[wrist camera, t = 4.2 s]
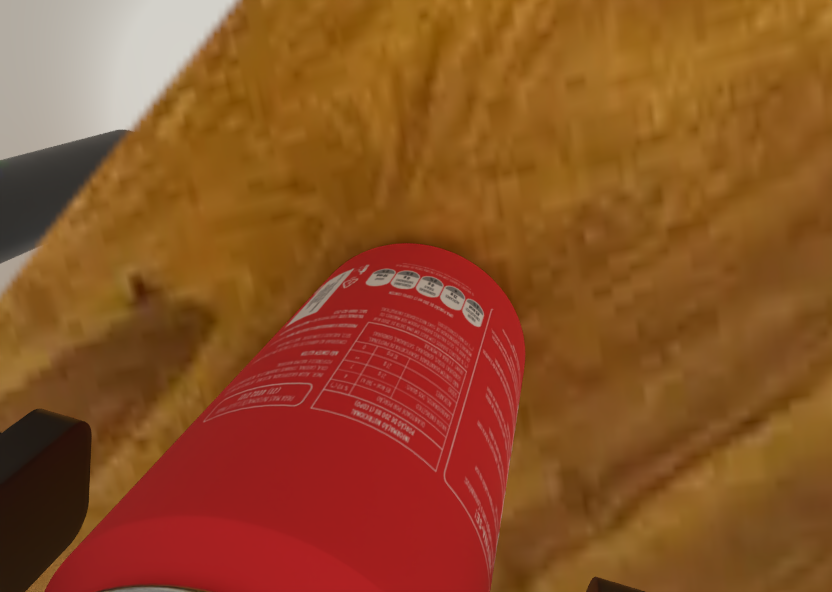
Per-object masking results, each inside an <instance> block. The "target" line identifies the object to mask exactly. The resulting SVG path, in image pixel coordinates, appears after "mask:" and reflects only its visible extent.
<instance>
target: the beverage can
mask: <svg viewBox="0 0 832 592" xmlns="http://www.w3.org/2000/svg"><path fill="white" fill-rule="evenodd" d="M524 365H525V343H524V336H523V332H522V328H521V324H520V322H519V319H518V316H517V314H516V312H515V309H514V308H513V306H512V304H511V302H510V300H509V299H508V297H507V296H506V294H505V293H504V292H503V290H502V289H501V288H500V287H499V285H498V284H497V283H496V282H495V281H494V280H493V279H492V278H491V277H490V276H489V275H488V274H487V273H485V272H484V271H483V270H482V269H481V268H479V267H478V266H476V265H475V264H474V263H472V262H470V261H469V260H467V259H465V258H463V257H461V256H459V255H457V254H455V253H453V252H450V251H447V250H444V249H441V248H438V247H434V246H429V245H423V244H414V243H401V244H391V245H385V246H380V247H377V248H373V249H370V250H368V251H365V252H363V253H361V254H359V255H357V256H355V257H353V258H351V259H350V260H348V261H347V262H345V263H344V264H343V265H341V266H340V267H339V268H338V269H337V270H336V271H334V272H333V274H332V275H331V276H330V277H329V278H328V279H327V280H326V281H325V282H324V283H323V284H322V285H321V286H320V287H319V288H318V289H317V291H316V292H315V293H314V294H313V295H312V296H311V297H310V298H309V299H308V300H307V301H306V302H305V303H304V304H303V306H302V307H301V308H300V309H299V310H298V311H297V312H296V313H295V314H294V315H293V316H292V317H291V318H290V319H289V321H288V322H287V323H286V324H285V325H284V326H283V327H282V328H281V329H280V330H279V331H278V332H277V333H276V334H275V336H274V337H273V338H272V339H271V340H270V341H269V342H268V343H267V344H266V345H265V346H264V347H263V348H262V349H261V351H260V352H259V353H258V354H257V355H256V356H255V357H254V358H253V359H252V360H251V361H250V362H249V363H248V364H247V366H246V367H245V368H244V369H243V370H242V371H241V372H240V373H239V374H238V375H237V376H236V377H235V378H234V379H233V381H232V382H231V383H230V384H229V385H228V386H227V387H226V388H225V389H224V390H223V391H222V392H221V393H220V394H219V396H218V397H217V398H216V399H215V400H214V401H213V402H212V403H211V404H210V405H209V406H208V407H207V408H206V409H205V411H204V412H203V413H202V414H201V415H200V416H199V417H198V418H197V419H196V420H195V421H194V422H193V423H192V424H191V426H190V427H189V428H188V429H187V430H186V431H185V432H184V433H183V434H182V435H181V436H180V437H179V438H178V439H177V441H176V442H175V443H174V444H173V445H172V446H171V447H170V448H169V449H168V450H167V451H166V452H165V453H164V454H163V456H162V457H161V458H160V459H159V460H158V461H157V462H156V463H155V464H154V465H153V466H152V467H151V468H150V469H149V471H148V472H147V473H146V474H145V475H144V476H143V477H142V478H141V479H140V480H139V481H138V482H137V483H136V484H135V486H134V487H133V488H132V489H131V490H130V491H129V492H128V493H127V494H126V495H125V496H124V497H123V498H122V499H121V501H120V502H119V503H118V504H117V505H116V506H115V507H114V508H113V509H112V510H111V511H110V512H109V513H108V514H107V516H106V517H105V518H104V519H103V520H102V521H101V522H100V523H99V524H98V525H97V526H96V527H95V528H94V529H93V531H92V532H91V533H90V534H89V535H88V536H87V537H86V538H85V539H84V540H83V541H82V542H81V543H80V544H79V546H78V547H77V548H76V549H75V550H74V551H73V552H72V553H71V554H70V555H69V556H68V557H67V558H66V560H65V561H64V562H63V563H62V564H61V566H60V567H59V568H58V570H57V571H56V572H55V574H54V575H53V577H52V579H51V580H50V582H49V584H48V585H47V587H46V589H45V592H490V589H491V582H492V576H493V569H494V563H495V556H496V550H497V543H498V537H499V530H500V523H501V517H502V510H503V504H504V497H505V491H506V484H507V478H508V471H509V465H510V458H511V452H512V445H513V439H514V432H515V426H516V419H517V412H518V406H519V399H520V393H521V386H522V380H523V373H524Z"/></svg>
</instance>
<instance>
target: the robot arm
mask: <svg viewBox="0 0 832 592" xmlns="http://www.w3.org/2000/svg"><path fill="white" fill-rule="evenodd" d="M90 459H91V428H90V426H89V424H88V423H86V422H84V421H81V420H77V419H74V418H71V417H67V416H64V415H61V414H58V413H54V412H51V411H48V410H44V409H36V410H33V411H32V412H30V413H29V414H27V415H26V416H24V417H23V418H22V419H20V420H19V421H18V422H16V423H15V424H13V425H12V426H11V427H9V428H8V429H7V430H5V431H4V432H3V433H1V432H0V592H25V591H26V590H27V589H28V588H29V587H30V586H31V585H32V584H33V583H34V582H35V581H36V580H37V579H38V578H39V576H40V575H41V574H42V573H43V572H44V571H45V570H46V569H47V568H48V567H49V566H50V565H51V564H52V563H53V562H54V561H55V560H56V559H57V558H58V557H59V556H60V554H61V553H62V552H63V551H64V550H65V549H66V548H67V547H68V546H69V545H70V544H71V543H72V541H73V540H74V539H75V537H76V536H77V534H78V532H79V530H80V528H81V526H82V524H83V522H84V519H85V517H86V513H87V509H88V503H89V482H90ZM586 592H645V591H641V590H638V589H635V588H631V587H628V586H625V585H621V584H618V583H615V582H611V581H608V580H605V579H601V578H598V577H594V578H593V579H592V580H591V582H590V584H589V586H588V589H587V591H586Z"/></svg>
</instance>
